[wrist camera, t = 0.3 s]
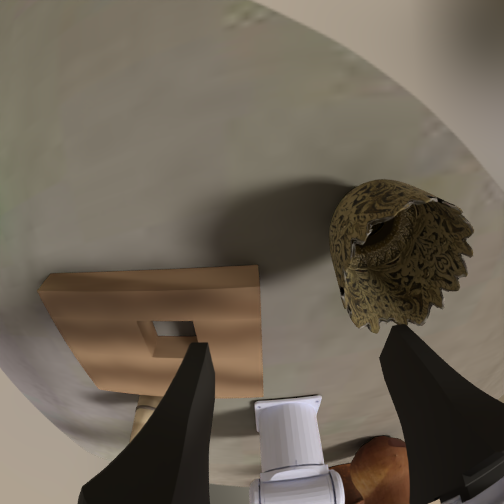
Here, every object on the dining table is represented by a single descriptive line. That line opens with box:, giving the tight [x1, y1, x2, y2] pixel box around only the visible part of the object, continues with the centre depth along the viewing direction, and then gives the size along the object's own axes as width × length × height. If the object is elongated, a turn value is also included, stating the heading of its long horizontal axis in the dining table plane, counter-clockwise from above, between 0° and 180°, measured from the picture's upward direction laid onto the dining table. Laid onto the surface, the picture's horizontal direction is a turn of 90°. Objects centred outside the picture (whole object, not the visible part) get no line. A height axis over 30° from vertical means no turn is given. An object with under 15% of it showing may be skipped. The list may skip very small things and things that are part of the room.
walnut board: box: [37, 265, 263, 398], centre depth 23 cm, size 14×18×2 cm
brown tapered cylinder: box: [328, 463, 364, 504], centre depth 47 cm, size 18×20×18 cm
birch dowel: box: [130, 395, 163, 442], centre depth 25 cm, size 3×3×10 cm
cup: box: [329, 179, 474, 334], centre depth 15 cm, size 8×7×8 cm
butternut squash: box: [350, 436, 410, 504], centre depth 33 cm, size 14×13×25 cm
